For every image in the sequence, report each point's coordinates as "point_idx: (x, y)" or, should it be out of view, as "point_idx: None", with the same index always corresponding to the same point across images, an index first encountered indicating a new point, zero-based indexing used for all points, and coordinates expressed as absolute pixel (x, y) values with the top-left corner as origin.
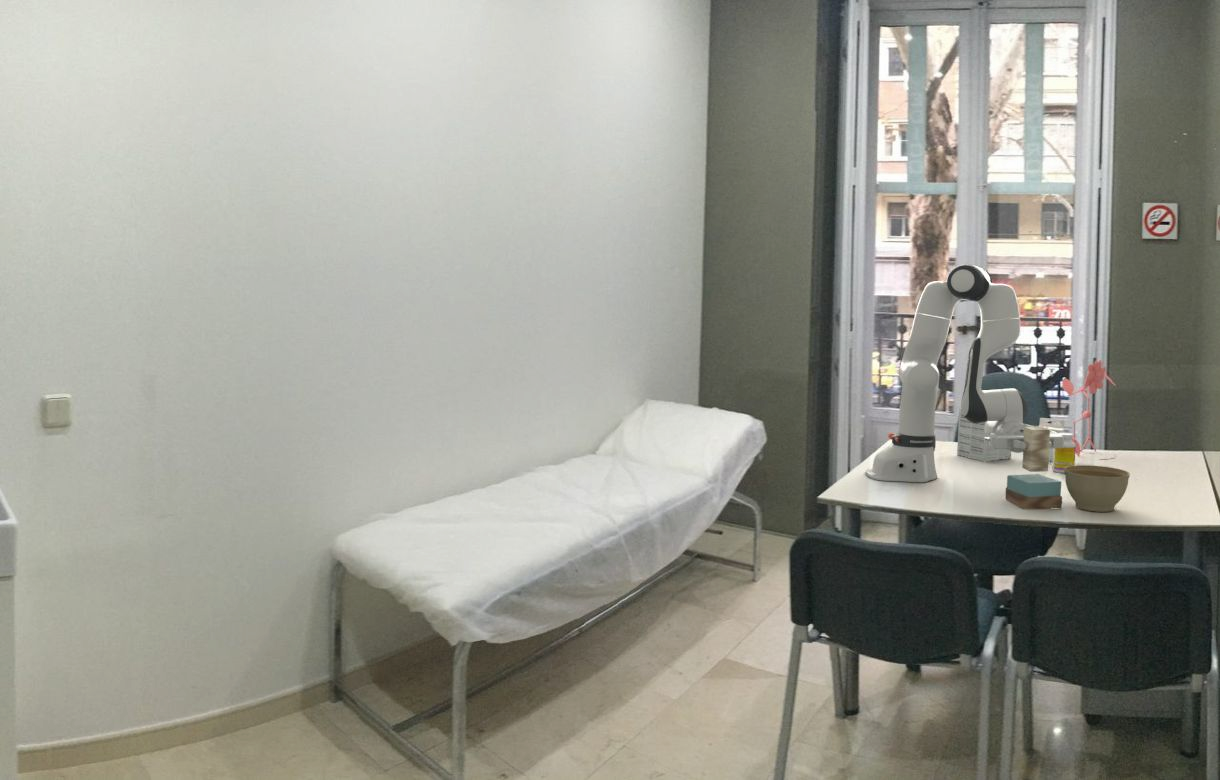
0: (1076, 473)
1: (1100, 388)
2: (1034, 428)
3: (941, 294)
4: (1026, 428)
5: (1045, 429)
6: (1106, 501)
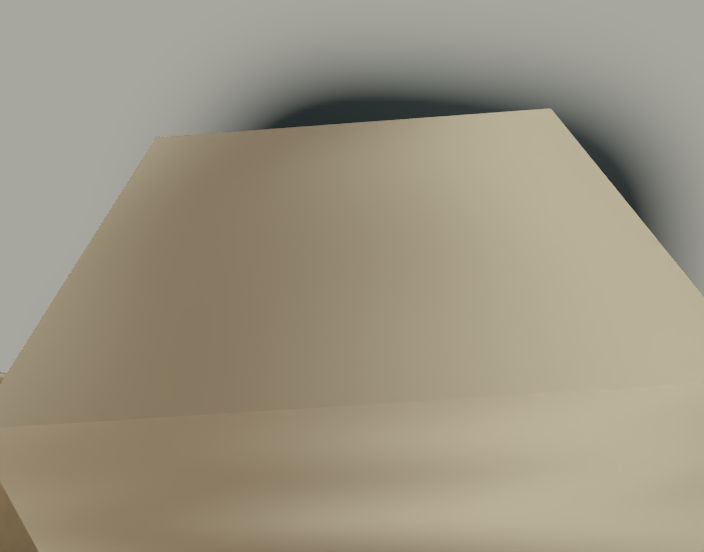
0: None
1: None
2: (442, 194)
3: None
4: (665, 276)
5: (234, 144)
6: (3, 536)
